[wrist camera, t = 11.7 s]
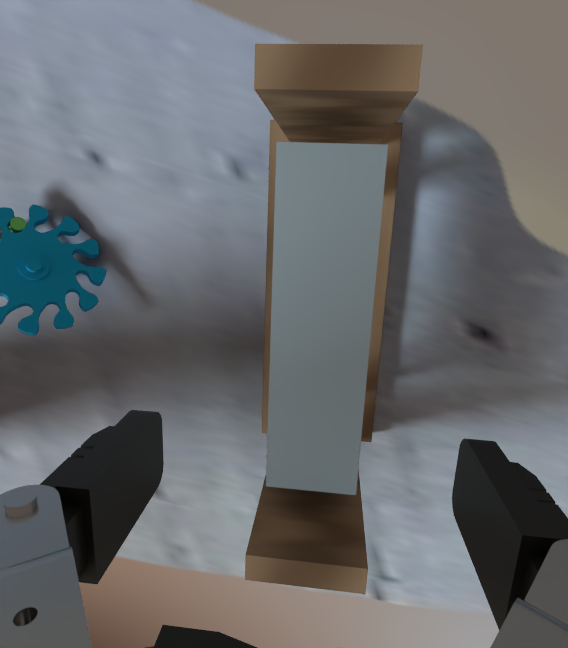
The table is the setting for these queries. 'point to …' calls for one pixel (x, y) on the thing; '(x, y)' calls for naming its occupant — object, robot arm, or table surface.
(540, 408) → the table surface
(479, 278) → the table surface
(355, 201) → the grey rectangular block
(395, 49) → the stand
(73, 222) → the gear
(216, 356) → the table surface
